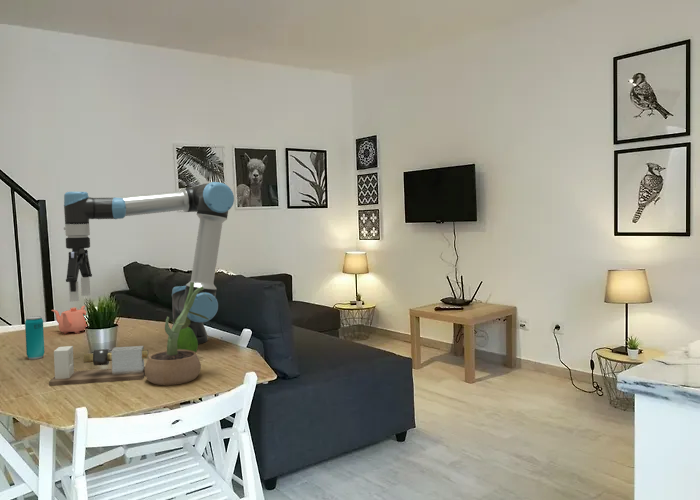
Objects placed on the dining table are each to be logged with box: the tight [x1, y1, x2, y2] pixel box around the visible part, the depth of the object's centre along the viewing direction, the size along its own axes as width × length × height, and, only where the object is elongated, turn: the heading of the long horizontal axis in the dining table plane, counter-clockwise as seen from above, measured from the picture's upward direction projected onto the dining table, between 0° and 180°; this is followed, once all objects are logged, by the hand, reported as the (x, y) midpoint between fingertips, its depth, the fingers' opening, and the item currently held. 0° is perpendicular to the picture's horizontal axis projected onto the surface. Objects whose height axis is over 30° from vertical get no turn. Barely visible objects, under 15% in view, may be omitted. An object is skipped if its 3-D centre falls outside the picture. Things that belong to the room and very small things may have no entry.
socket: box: [53, 345, 75, 379], centre depth 178 cm, size 4×6×10 cm, turn 13°
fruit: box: [177, 327, 199, 353], centre depth 203 cm, size 8×8×12 cm
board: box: [48, 366, 146, 386], centre depth 181 cm, size 27×11×1 cm, turn 103°
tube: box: [83, 348, 149, 367], centre depth 182 cm, size 19×5×5 cm, turn 103°
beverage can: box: [24, 315, 45, 360], centre depth 206 cm, size 6×6×15 cm
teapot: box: [51, 305, 87, 335], centre depth 253 cm, size 14×14×11 cm
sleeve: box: [110, 345, 145, 375], centre depth 182 cm, size 9×5×8 cm, turn 103°
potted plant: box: [144, 281, 212, 386], centre depth 179 cm, size 22×18×30 cm
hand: (80, 298), depth 196 cm, fingers open, 13 cm apart
